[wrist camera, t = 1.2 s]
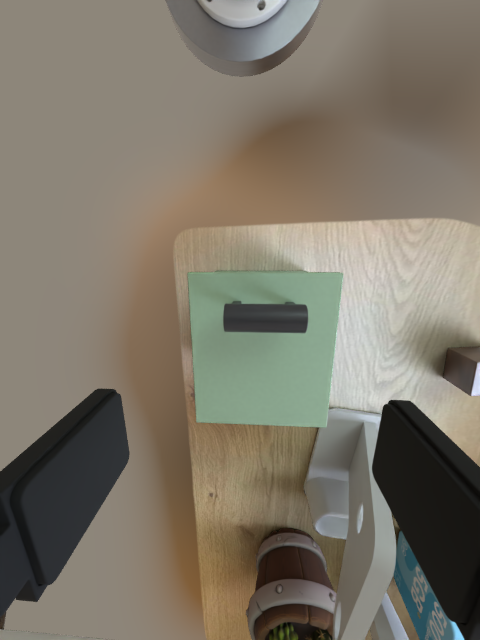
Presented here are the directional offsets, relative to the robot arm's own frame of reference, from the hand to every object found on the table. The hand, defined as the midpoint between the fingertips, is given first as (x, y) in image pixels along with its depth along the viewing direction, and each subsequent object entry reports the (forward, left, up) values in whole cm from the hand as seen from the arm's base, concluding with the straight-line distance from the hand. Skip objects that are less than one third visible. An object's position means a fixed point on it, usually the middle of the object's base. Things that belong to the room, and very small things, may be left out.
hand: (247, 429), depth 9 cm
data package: (+52, +11, -25) cm, 58 cm away
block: (+18, +24, -25) cm, 39 cm away
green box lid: (+2, 0, -12) cm, 12 cm away
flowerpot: (+46, -9, -25) cm, 53 cm away
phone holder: (+29, +5, -25) cm, 38 cm away
